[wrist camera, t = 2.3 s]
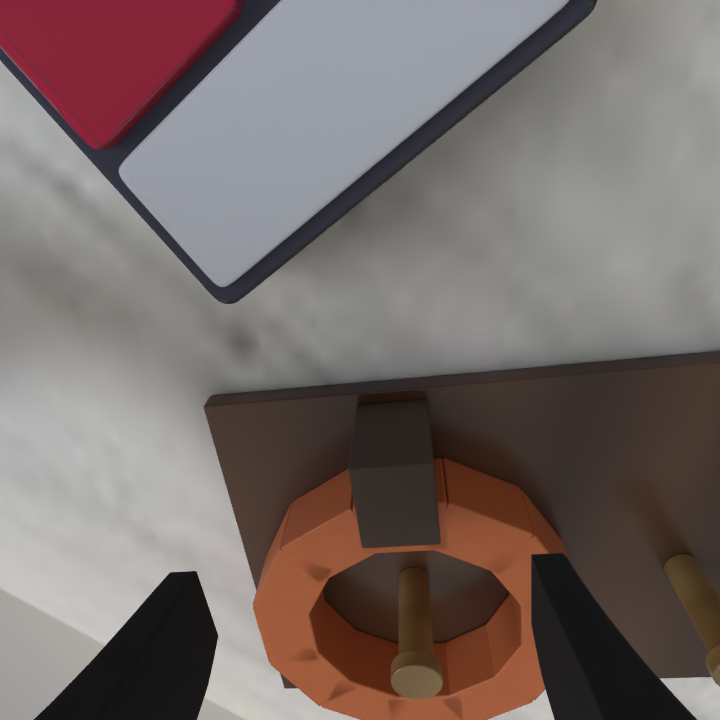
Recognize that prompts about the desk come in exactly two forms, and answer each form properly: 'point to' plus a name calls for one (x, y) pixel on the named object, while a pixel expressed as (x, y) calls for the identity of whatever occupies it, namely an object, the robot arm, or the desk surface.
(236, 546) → the desk surface
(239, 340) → the desk surface
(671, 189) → the desk surface
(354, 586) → the rack
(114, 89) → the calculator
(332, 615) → the ring
